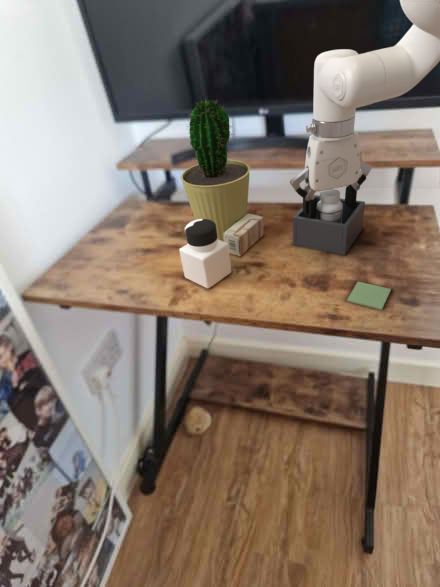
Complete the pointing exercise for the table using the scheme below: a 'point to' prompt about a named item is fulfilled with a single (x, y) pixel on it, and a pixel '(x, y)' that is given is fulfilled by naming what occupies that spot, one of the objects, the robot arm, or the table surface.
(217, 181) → the potted cactus
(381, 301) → the mat
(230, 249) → the small printed carton
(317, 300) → the table surface
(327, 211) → the pill bottle
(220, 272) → the medicine bottle
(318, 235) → the tub
